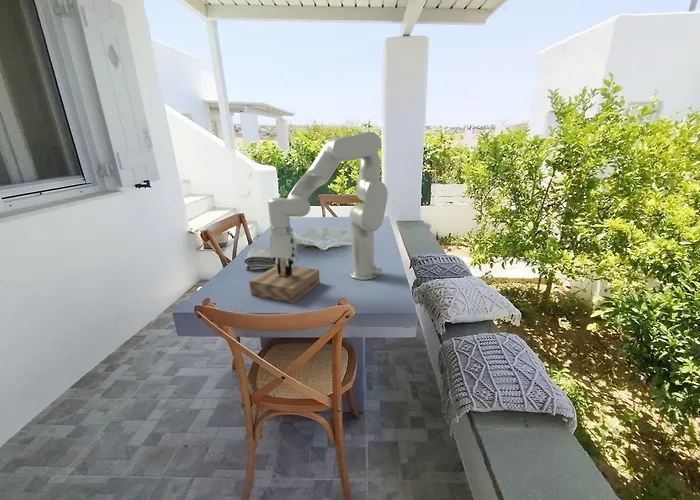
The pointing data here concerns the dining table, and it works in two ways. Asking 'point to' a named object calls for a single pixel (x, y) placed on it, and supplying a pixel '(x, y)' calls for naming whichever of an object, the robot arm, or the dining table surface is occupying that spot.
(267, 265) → the towel
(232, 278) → the dining table surface
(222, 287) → the dining table surface
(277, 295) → the bore block
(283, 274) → the peg
